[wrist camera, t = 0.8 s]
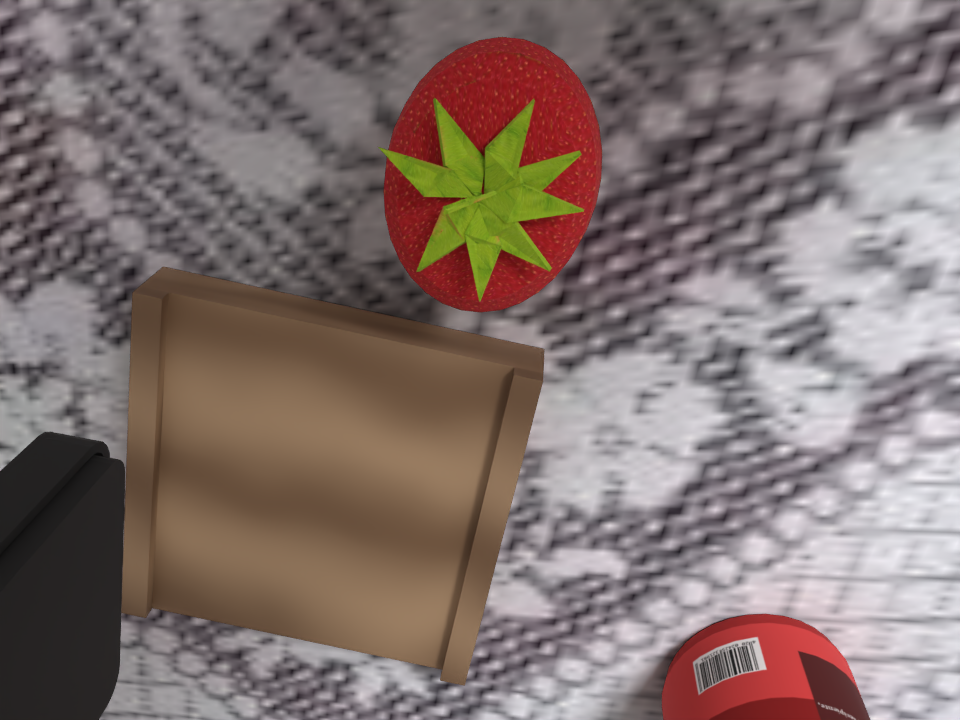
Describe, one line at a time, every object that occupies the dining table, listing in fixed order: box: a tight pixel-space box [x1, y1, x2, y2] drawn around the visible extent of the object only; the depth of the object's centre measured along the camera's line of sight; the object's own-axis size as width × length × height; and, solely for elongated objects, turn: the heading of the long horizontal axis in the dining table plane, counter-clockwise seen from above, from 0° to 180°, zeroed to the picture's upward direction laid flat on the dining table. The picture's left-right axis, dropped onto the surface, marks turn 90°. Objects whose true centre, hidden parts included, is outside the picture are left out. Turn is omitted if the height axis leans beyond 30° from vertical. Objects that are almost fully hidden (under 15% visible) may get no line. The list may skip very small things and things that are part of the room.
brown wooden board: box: [121, 267, 544, 686], centre depth 35 cm, size 14×14×3 cm
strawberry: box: [378, 37, 602, 312], centre depth 26 cm, size 6×8×10 cm
